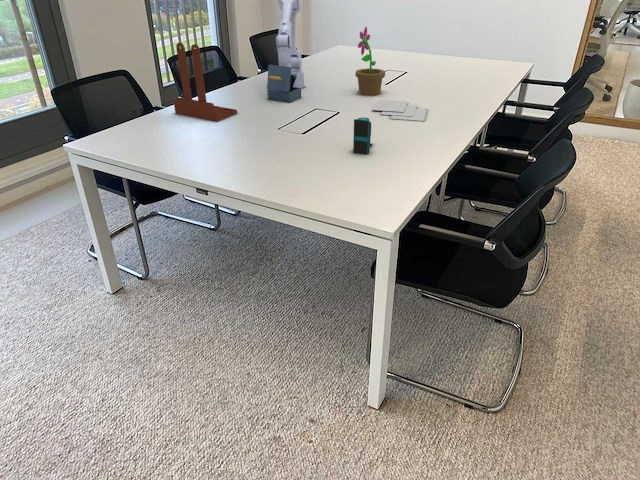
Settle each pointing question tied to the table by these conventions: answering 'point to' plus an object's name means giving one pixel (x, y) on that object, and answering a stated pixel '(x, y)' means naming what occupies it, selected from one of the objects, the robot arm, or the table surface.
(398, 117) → the paper stack
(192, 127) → the table surface
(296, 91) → the tin box
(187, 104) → the hanging shelf
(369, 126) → the black teal block
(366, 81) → the flowerpot
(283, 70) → the lid
